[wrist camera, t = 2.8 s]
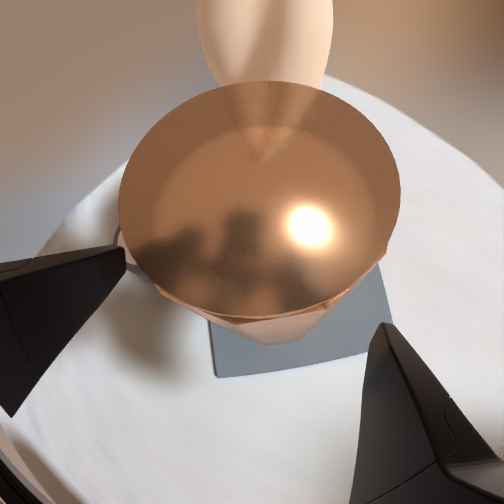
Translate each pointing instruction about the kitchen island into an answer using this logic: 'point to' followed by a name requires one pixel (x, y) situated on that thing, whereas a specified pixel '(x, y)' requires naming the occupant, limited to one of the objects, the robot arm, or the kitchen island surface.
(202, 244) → the brown tapered cup
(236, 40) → the water bottle
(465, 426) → the robot arm
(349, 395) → the kitchen island surface
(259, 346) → the slate mat
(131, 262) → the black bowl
